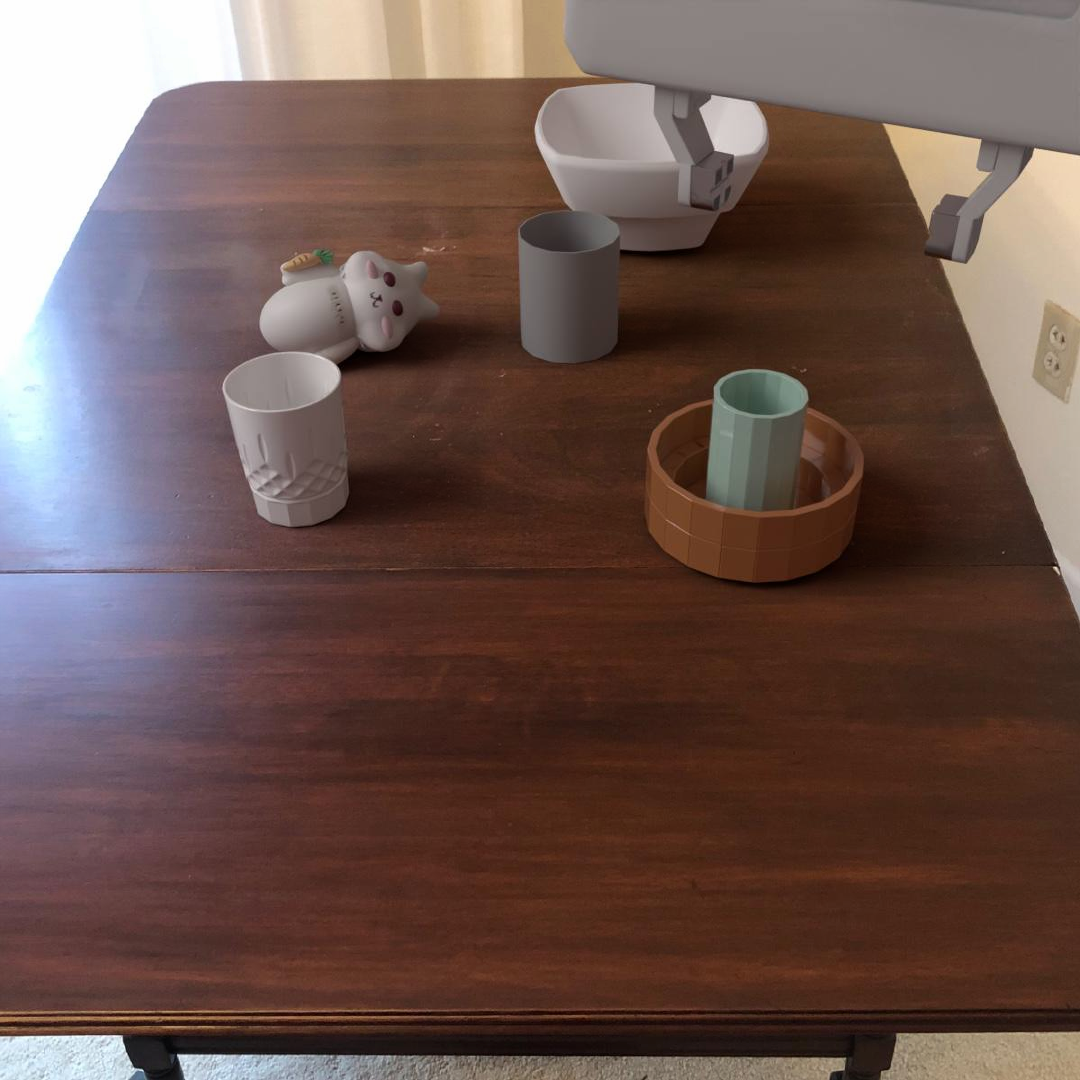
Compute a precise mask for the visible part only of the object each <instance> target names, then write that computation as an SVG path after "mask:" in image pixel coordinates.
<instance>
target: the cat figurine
mask: <svg viewBox="0 0 1080 1080" xmlns="http://www.w3.org/2000/svg"><path fill="white" fill-rule="evenodd" d="M334 253H335V252H334V251H332V250H331V249H328V250H327V249H324V248H323V249H322V248H316V249H314V250H313V252H312V253H310V252H309V253H308V252H304V253H301V254H298V255H297V256H295V257H293V258H292V259H291V260H289V261H286V262H284V263H282V264H281V265H280V272H281V274H282V276H281V282H282V284H283V285H284V287H282V288H281V289H279V290H278V291H276V292H275V293H274V294H273V295H271V297H270V298H269V299H268V300H267V301H266V303H265V304H264V306H263V307H262V310H261V312H260V315H259V329H260V333H261V335H262V337H263V339H264V340H265V341H266V342H267V344H269V346H271V347H272V348H274V349H275V350H277V351H278V352H306V353H312V354H317V355H320V356H323V357H325V358H327V359H329V360H331V361H332V362H334V363H335V364H336V365H337V366H338V365H339V364H340V363H342V362H344V361H345V360H346V359H348V358H349V357H350V356H352V355H353V354H354V353H355V352H356V351H357V350H360V351H362V352H367V353H375V352H380V353H384V352H389V351H392V350H394V349H396V348H397V347H399V346H400V345H401V343H403V341H404V338H405V337H406V336H408V335H409V333H410V332H411V331H412V330H413V328H414V327H415V326H416V325H417V324H418V323H419V322H421V321H423V320H425V319H426V320H430V319H434V318H436V317H438V316H439V314H440V306H439V304H438V303H437V302H435V301H434V300H432V299H431V298H429V297H427V296H426V295H425V294H424V293H423V287H424V284H425V283H426V281H427V279H428V277H429V274H430V267H429V265H428V264H427V263H426V262H425V261H416V262H414V263H411V264H402V263H399V262H396V261H394V260H391V259H389V258H384V257H383V256H382V255H381V254H380V253H377V252H376V251H372V250H360V251H357V252H355V253H353V254H352V255H350V257H349V258H348V260H347V261H346V262H345V263H343V264H341V265H340V267H339V268H338V267H336V266H334V265H332V264H334V263H335V262H334V261H335V260H334V255H335V254H334Z"/></svg>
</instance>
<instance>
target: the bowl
mask: <svg viewBox="0 0 1080 1080" xmlns="http://www.w3.org/2000/svg"><path fill="white" fill-rule="evenodd" d="M654 92H655V86H654V85H648V84H642V83H636V82H623V83H620V82H619V83H604V84H603V83H601V84H588V85H579V86H572V87H565V88H558V89H557V90H555V91H554V92H553V93H551V95H549V96H547V98H545V100H544V103H543V104H542V106H541V107H540V108H539V111H538V114H537V117H536V121H535V124H534V136H535V143H536V145H537V147H538V150H539V152H540V154H541V157H542V158H543V160H544V162H545V164H546V167H547V168H548V171H549V173H550V175H551V177H552V179H553V181H554V184H555V185H556V187H557V189H558V191H559V193H560V196H561V197H562V200H563V202H564V203H565V204H566V205H567V206H568V207H569V209H571V210H572V211H588V212H591V213H595V214H599V215H603V216H606V217H607V218H609V219H611V220H612V221H614V222H615V223H617V224H618V228H619V231H620V251H621V250H622V251H635V252H661V251H662V252H663V251H664V252H665V251H674V250H686V249H694V248H698V247H700V246H702V245H703V244H704V243H705V241H706V240H707V237H708V235H709V234H710V232H711V230H712V229H713V227H714V225H715V223H716V221H717V219H718V218H719V216H720V214H721V213H727V212H729V211H732V210H733V209H734V207H736V205H737V204H738V202H739V201H740V199H741V197H742V196H743V194H744V192H745V191H746V189H747V187H748V186H749V185H750V182H751V181H752V179H753V178H754V176H755V174H756V172H757V171H758V169H759V168H760V166H761V164H762V162H763V160H764V159H765V157H766V156H767V154H768V151H769V146H770V134H769V127H768V121H767V119H766V118H765V115H764V113H762V110H761V109H760V106H758V105H757V104H758V103H757V102H751V101H745V100H739V99H733V98H727V97H721V96H715V95H711V100H710V101H708V102H707V103H706V104H704V105H703V106H702V107H700V108H699V110H700V112H701V115H702V118H703V120H704V123H705V125H706V128H707V131H708V133H709V136H710V138H711V141H712V144H713V146H714V149H715V150H714V151H719V152H723V153H728V154H733V155H734V162H733V172H732V173H731V174H730V175H729V178H730V180H731V182H732V186H731V193H730V196H729V199H728V201H727V202H726V203H725V204H724V205H722V206H719V210H718V211H717V212H714V211H708V210H703V209H697V208H690V207H686V206H682V205H680V204H679V202H678V190H679V171H680V163H678V162H676V160H675V158H674V155H673V153H672V151H671V149H670V147H669V145H668V143H667V141H666V139H665V137H664V135H663V133H662V131H661V129H660V127H659V124H658V122H657V120H656V118H655V116H654Z"/></svg>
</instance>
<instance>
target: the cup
mask: <svg viewBox="0 0 1080 1080" xmlns="http://www.w3.org/2000/svg"><path fill="white" fill-rule="evenodd" d="M517 234H518V235H517V238H518V239H517V240H518V273H519V275H518V276H519V277H518V278H519V308H520V309H519V311H520V313H519V315H520V339H521V346H522V348H523V349H524V350H525V351H526V352H528V353H529V354H530V355H531V356H532V357H533V358H537V359H541V360H544V361H546V362H550V363H557V364H558V363H559V364H572V365H573V364H579V363H586V362H591V361H596V360H598V359H600V358H602V357H604V356H605V355H608V354H610V353H611V352H612V351H613V349H614V348H615V346H616V345H617V343H618V333H619V331H618V330H619V298H620V297H619V296H620V295H619V294H620V293H619V292H620V260H621V259H620V257H621V253H620V252H621V250H620V231H619V228H618V224H617V223H615V222H614V221H612V220H611V219H609V218H607V217H606V216H603V215H599V214H595V213H591V212H588V211H573V210H572V209H571V210H567V209H562V210H556V211H549V212H542V213H540V214H537V215H535V216H532V217H529V218H528V219H525V221H523V223H522V224H521V225H520V226H519V227H518V228H517Z"/></svg>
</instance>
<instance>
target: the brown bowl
mask: <svg viewBox="0 0 1080 1080" xmlns="http://www.w3.org/2000/svg"><path fill="white" fill-rule="evenodd" d="M712 404H713V398H711V399H707V400H703V401H698V402H694V403H691V404H688V405H686V406H684V407H682V408H680V409H678V410H677V411H674V412H672V413H670V414H668V415H667V416H666V417H665V418H664V419H663V420H662V421H661V422H660V423H659V424H658V425H657V426H656V427H655V428H654V429H652V432H651V436H650V439H649V442H648V445H647V447H646V465H645V466H646V467H645V468H646V469H645V488H644V489H645V490H644V511H643V512H644V518H645V521H646V526H647V531H648V532H649V534H650V535H651V536H652V538H653V539H654V540H655V542H656V543H657V544H658V545H659V547H660V548H661V549H662V550H663V551H664V552H665V553H667V554H668V555H670V556H671V557H673V558H674V559H676V561H679V562H680V563H681V564H683V565H685V566H686V567H688V568H690V569H693V570H695V571H698V572H702V573H704V574H706V575H710V576H712V577H715V578H719V579H725V580H732V581H738V582H746V583H754V584H757V583H773V582H774V583H775V582H787V581H791V580H794V579H798V578H802V577H805V576H807V575H811V574H815V573H817V572H819V571H821V570H823V569H824V568H826V567H827V566H829V565H830V564H832V563H834V562H835V561H837V560H838V559H839V558H840V557H841V556H842V554H843V553H844V551H845V550H846V548H847V547H848V545H849V544H850V542H851V541H852V537H853V533H854V528H855V527H854V526H855V523H856V522H855V521H856V515H857V510H858V505H859V498H860V494H861V488H862V482H863V477H864V465H865V456H864V453H863V451H862V449H861V447H860V445H859V443H858V441H857V439H856V437H855V436H854V435H853V434H852V433H850V432H849V431H848V430H847V429H846V428H845V427H844V426H842V425H841V424H840V423H839V422H838V421H837V420H836V419H834V418H832V417H830V416H828V415H826V414H824V413H822V412H820V411H818V410H816V409H814V408H812V407H809V406H808V408H807V415H806V422H805V429H804V436H803V443H802V451H801V458H800V465H799V472H798V479H797V486H796V493H795V500H794V507H793V510H781V511H763V512H759V511H752V510H744V509H736V508H729V507H725V506H722V505H719V504H716V503H713V502H710V501H707V500H704V498H705V487H706V475H707V463H708V451H709V439H710V427H711V415H712Z"/></svg>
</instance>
